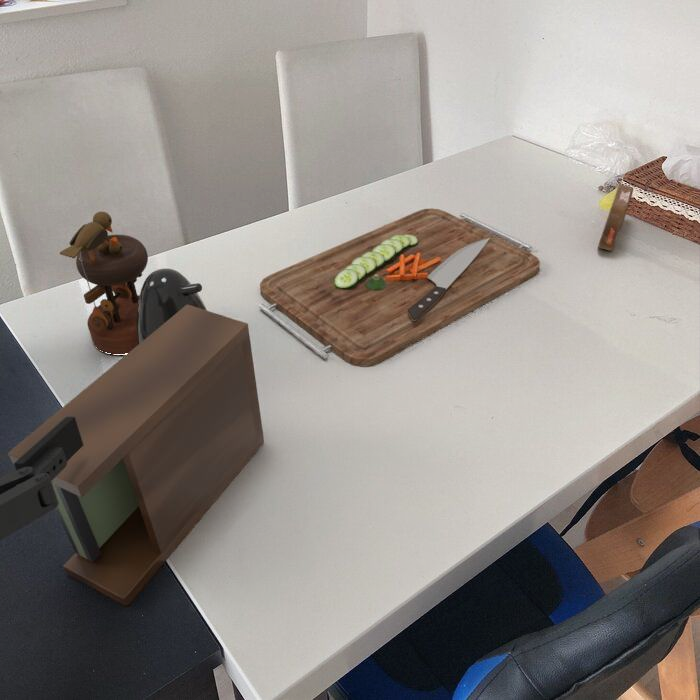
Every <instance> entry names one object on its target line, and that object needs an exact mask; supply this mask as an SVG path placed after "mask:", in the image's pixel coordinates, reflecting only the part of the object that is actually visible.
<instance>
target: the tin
mask: <svg viewBox="0 0 700 700" xmlns="http://www.w3.org/2000/svg"><path fill="white" fill-rule="evenodd" d="M633 193H634V187H633V186H630V185H626V184H621V182H620V183H618V186H617V188H616V191H615V195H614V198H613V199H612V203H611V206H610V209H609V213H608V215H607V218H606V221H605V224H604V227H603V230H602V234H601V237H600V239H599V242H598V245H597V249H602V250H605V251H614V250H615V247H616V243H617V240H618V237H619V234H620V230H621V228H622V226H623V224H624V222H625V219H626V216H627V213H628V209H629V207H630V204H631V200H632V196H633Z"/></svg>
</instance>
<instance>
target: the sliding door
mask: <svg viewBox="0 0 700 700" xmlns="http://www.w3.org/2000/svg"><path fill="white" fill-rule="evenodd" d="M52 485H53V488H54V491H55V494H56V497H57V500H58V502H59V504H58V506H57V507H56V508H55V509H54V510H55V512H56V514H57V516H58V518H59V521H60V522H61V525H62V527H63V529H64V531H65V534H66V536H67V538H68V541H69V542H70V544H71V547H72V548H73V551H74V554H75V553H76V554H78V555H80V556H82V557H84V558H86V559H88V560H89V561H91V562H94V561H95V560H96V559H97V558H98V557H99V555H100V554H101V551H100V549H99V548H100V547H101V546H102V545H103V544H104V543H105V542H106V541H107V540H108V539H109V537H110V536H111V535H112V534H113V533H114V532H115V531H116V530H117V529H118V528H119V527H120V526H121V525H122V524H123V522H124V521H125V520H126V519H127V518H128V517H129V516H130V515H131V514H132V513H133V512H134V511H135V510H136V509H137V507H138V506H139V505H138V502H137V499H136V496H135V493H134V490H133V487H132V484H131V481H130V478H129V475H128V472H127V469H126V466H125V463H124V460H123V458H122V459H121V460H120V461H119V462H118V463H117V464H116V465H115V466H114V467H113V468H112V469H111V470H110V471H109V472H108V473H107V474H106V475H105V476H104V477H103V478H102V479H101V480H100V481H99V482H98V483H97V484H96V485H95V486H94V487H93V488H92V489H91V490H90V491H89V492H88V493H87V494H86V495H85V496H84V497H79V496H77V495H75V494H73V493H71V492H69V491H67V490H65V489H63V488H61V487H59V486H57V485H55V484H52Z"/></svg>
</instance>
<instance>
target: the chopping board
mask: <svg viewBox="0 0 700 700" xmlns="http://www.w3.org/2000/svg"><path fill="white" fill-rule="evenodd" d="M490 232H491V233H490ZM494 234H495V235H494ZM496 235H497V236H496ZM506 240H507V241H506ZM532 248H533V246H532V245H530V244H529V243H526V242H524V241H523V240H522V241H521V240H520V239H518V238H516V237H514V236H511V235H509V234H507V233H505V232H503V231H501V230H499V229H497V228H494V227H492V226H491V225H489V224H486V223H484V222H482V221H480V220H478V219H476V218H475V217H472V216H469V215H468V214H466V213H463V212H461V213H459V217H458V216H456V215H453V214H452V213H449V212H447V211H445V210H443V209H439V208H433V207H432V208H424V209H420V210H417V211H415V212H413V213H410V214H408V215H406V216H403V217H401V218H398V219H396V220H394V221H392V222H389V223H388V224H385V225H382V226H380V227H378V228H375V229H372V230H370V231H368V232H366V233H363V234H362V235H359V236H357V237H355V238H352V239H350V240H348V241H345V242H343V243H340V244H338V245H336V246H333V247H332V248H328V249H327V250H324V251H322V252H320V253H317V254H315V255H313V256H310V257H308V258H306V259H304V260H301V261H299V262H297V263H294V264H292V265H290V266H288V267H285V268H283V269H281V270H278V271H276V272H274V273H271V274H269V275H267V276H265V277H263V279H262V280H261V282H260V283H259V290H260V296H261V297H262V298H263V300H265V301H267V303H269V304H270V305H268V306H267V305H265V304H264V303H259V306H258V308H259V309H260V310H262V312H264V313H265V314H267V315H268V316H269V317H270V318H272V319H273V320H274V321H275V322H277V323H278V324H280V326H282V327H283V328H284V329H286V330H287V331H288V332H289V333H291V334H292V335H294V337H296V338H297V339H298V340H300V341H301V342H302V343H304V344H305V345H306V346H307V347H308V348H310V349H311V350H313V352H315V353H316V354H317V355H319V356H320V357H321V358H322V359H323V360H324V359H325V360H326V359H327V358H328V357H329V354H328V352H327V351H329V350H330V351H331V352H333V353H334V354H335V355H336V356H338V357H339V358H341V359H342V360H343V361H345V362H346V363H349V364H350V365H352V366H356V367H362V368H363V367H372V366H374V365H377V364H380V363H382V362H383V361H385V360H387V359H389V358H391V357H393V356H395V355H396V354H398V353H400V352H402V351H403V350H405V349H407V348H409V347H411V346H412V345H414V344H416V343H418V342H420V341H421V340H423V339H425V338H426V337H428V336H430V335H432V334H434V333H436V332H437V331H439V330H441V329H443V328H444V327H447V326H448V325H450V324H451V323H453V322H456V321H457V320H459V319H460V318H462V317H464V316H465V315H467V314H470V313H472V312H473V311H474V310H476V309H478V308H481V307H482V306H484V305H486V304H487V303H489V302H491V301H493V300H494V299H496V298H497V297H500V296H501V295H503V294H505V293H507V292H509V291H511V290H513V289H514V288H515V287H517V286H520V285H521V284H523V283H524V282H526V281H528V280H530V279H532V278H533V277H535V276H536V275H537V274H538V273H539V270H540V264H541V260H540V259H539V258H538V256H536V255H535V254H533V253H531V252H529V251H531V250H532ZM527 250H528V251H527ZM275 308H276V310H278V311H279V312H280V313H282V314H283V315H285V316H286V317H287V318H288V319H290V320H291V321H292V322H293V323H295V324H296V325H298V326H299V327H300V328H301V329H303V330H304V331H306V332H307V333H308V334H310V335H311V336H312V337H313V338H314V339H316V340H317V341H318V342H320V343H321V344H322V345H324V347H322V348H321V347H320V346H318V345H317V344H315V343H314V342H313V341H312V340H310V339H309V338H308V337H307V336H305V335H304V334H303V333H301V331H299V330H297V329H296V328H295V327H293V326H292V324H290V323H288V322H287V321H286V320H285V319H283V318H282V317H281V316H279V314H276V312H274V311H273V310H272V309H275Z"/></svg>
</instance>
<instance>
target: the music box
mask: <svg viewBox="0 0 700 700" xmlns="http://www.w3.org/2000/svg"><path fill="white" fill-rule="evenodd" d="M112 224H113V220H112V216H111V215H110V214H109V213H108V212H107V211H97V212H96V213H95V214H93V217H92V221H89V222H87V223H85V224H83V225H82V226H81V227H80V228H79V229H78V230H77V231H76V232H75V234H74V235H73V236H72V238H71V239H70V241H69V246H67V247H66V248H65V249H63V250H60V252H59V255H61V256H64V257H69V258H71V259H75V258H76V260H75V265H76V269H77V271H78V273H79V275H80V276H81V277H82V278H83V279H84V280H85V281H86V283H87V286H88V288H89V290H88V291H87V292H86V293H84V294H83V298H84V301H85V304H87V305H90V304H93V306H94V307H93V308H92V309H93V310H92V312H90V314H89V316H88V317H87V328H88V331H89V335H90V338H91V340H92V344H93V343H94V344H93V346H94V345H95V346H96V347H97V348H98V349H99V350H101V351H103V352H107V353H111V354H125V353H129V352H130V351H131V350H133V349H134V348H135V347H136V346H137V345H138V341H137V328H136V318H137V307H138V301H139V296H140V294H138V292H137V289H136V285H135V284H136V282H137V281H138V278H141V277H142V276H143V273H144V271H145V270H146V267H147V266H148V260H149V255H148V252H147V248H146V247H145V245H144V244H143V243H142V242H141V241H140V240H138V239H137V238H136V237H133V236H131V235H126V234H109V232H110V233H113V229H112ZM90 284H93V285H95V286H94V287H93V288H91V286H90ZM104 295H105V298H104V299H103V298H102V299H101V300H100V303H99V305H98V306H97V305H96V303H95V301H96V300H98V299H100V298H101V297H102V296H104ZM95 346H94V347H95ZM96 347H95V348H96ZM97 348H96V349H97ZM98 349H97V350H98ZM99 350H98V351H99ZM101 351H100V352H101ZM103 352H102V353H103Z"/></svg>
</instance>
